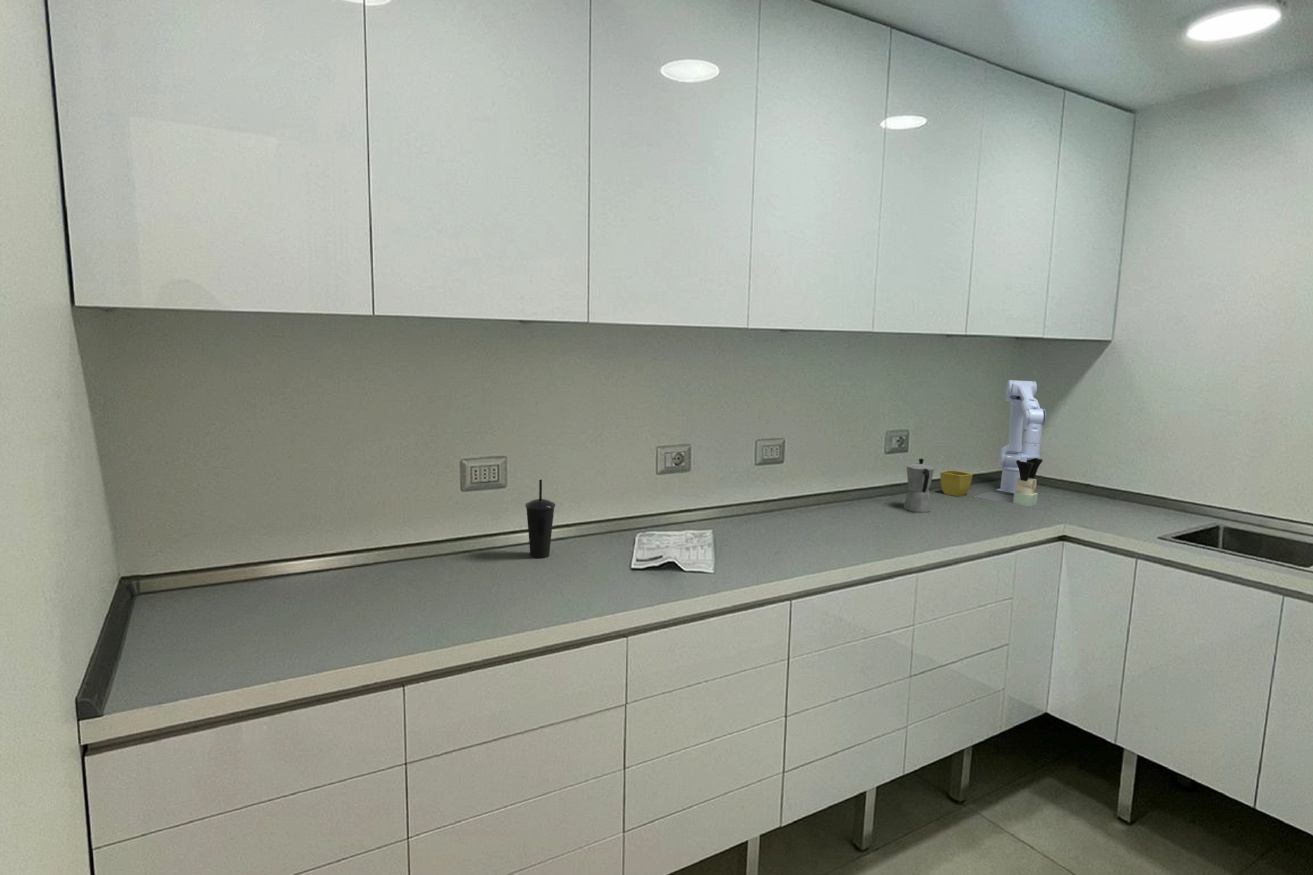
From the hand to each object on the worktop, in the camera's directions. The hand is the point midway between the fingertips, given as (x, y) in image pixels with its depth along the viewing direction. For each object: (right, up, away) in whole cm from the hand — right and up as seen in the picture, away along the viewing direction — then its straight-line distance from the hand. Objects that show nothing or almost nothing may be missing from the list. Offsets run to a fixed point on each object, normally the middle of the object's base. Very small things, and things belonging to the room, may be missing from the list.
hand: (1027, 479), depth 262 cm
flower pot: (-21, -7, +13) cm, 26 cm away
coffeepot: (-44, -10, -12) cm, 47 cm away
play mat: (-2, -9, +7) cm, 11 cm away
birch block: (0, -5, +1) cm, 5 cm away
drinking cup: (-165, -16, -75) cm, 182 cm away
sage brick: (0, -9, +1) cm, 9 cm away
